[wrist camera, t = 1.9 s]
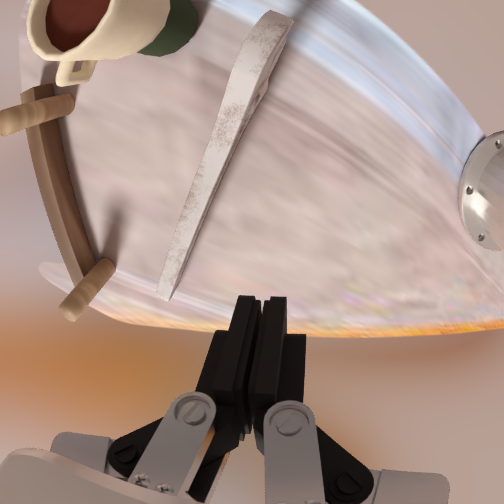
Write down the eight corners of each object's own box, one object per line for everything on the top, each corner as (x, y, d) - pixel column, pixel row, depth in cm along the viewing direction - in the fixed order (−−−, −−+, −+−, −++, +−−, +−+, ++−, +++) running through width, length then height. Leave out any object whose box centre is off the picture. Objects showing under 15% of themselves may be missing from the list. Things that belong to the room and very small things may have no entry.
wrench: (172, 268, 37) (280, 18, 19) (185, 274, 37) (301, 27, 19) (143, 315, 31) (261, 3, 12) (158, 323, 31) (292, 16, 12)
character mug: (162, -33, 17) (73, -79, 6) (230, -13, 18) (168, -77, 7) (111, 65, 22) (4, 78, 11) (171, 91, 23) (74, 111, 12)
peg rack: (71, 75, 23) (6, 86, 15) (122, 286, 36) (86, 335, 29) (38, 89, 24) (-22, 105, 16) (90, 283, 37) (54, 327, 30)
